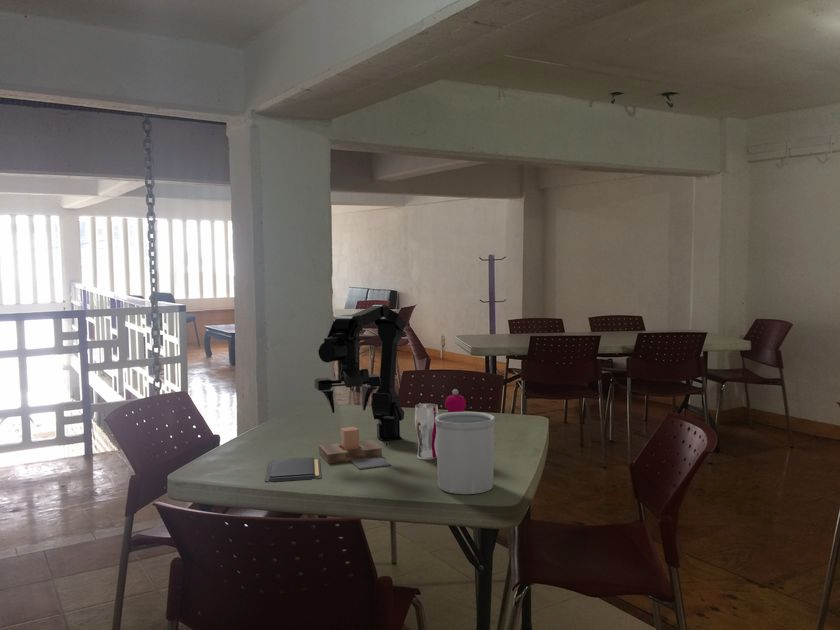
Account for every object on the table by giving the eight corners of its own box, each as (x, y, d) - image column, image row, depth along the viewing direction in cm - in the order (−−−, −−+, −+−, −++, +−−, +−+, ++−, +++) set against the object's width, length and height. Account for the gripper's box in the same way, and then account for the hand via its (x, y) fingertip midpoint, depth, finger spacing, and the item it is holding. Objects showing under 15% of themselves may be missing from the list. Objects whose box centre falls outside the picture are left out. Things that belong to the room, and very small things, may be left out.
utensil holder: (444, 475, 183) (443, 409, 182) (500, 479, 179) (499, 411, 177) (428, 493, 169) (427, 421, 168) (489, 497, 165) (488, 424, 163)
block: (355, 453, 207) (354, 426, 207) (359, 456, 203) (358, 429, 203) (341, 454, 206) (340, 428, 205) (344, 458, 202) (344, 431, 201)
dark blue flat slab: (268, 457, 199) (322, 454, 201) (268, 464, 200) (322, 461, 202) (262, 478, 180) (321, 474, 182) (262, 485, 180) (321, 482, 182)
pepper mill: (451, 463, 194) (450, 392, 193) (439, 457, 201) (437, 388, 199) (473, 459, 197) (472, 389, 196) (460, 453, 204) (459, 386, 202)
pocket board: (371, 448, 212) (370, 439, 212) (381, 457, 202) (381, 448, 202) (319, 454, 207) (319, 445, 207) (327, 463, 196) (327, 454, 196)
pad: (380, 457, 201) (380, 456, 201) (390, 465, 193) (390, 464, 193) (350, 461, 198) (350, 459, 198) (359, 469, 190) (359, 468, 190)
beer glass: (442, 454, 203) (441, 403, 202) (435, 461, 197) (434, 408, 196) (419, 453, 206) (418, 402, 205) (411, 459, 199) (410, 407, 198)
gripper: (321, 363, 192) (323, 419, 193) (386, 359, 198) (387, 414, 199) (313, 359, 202) (314, 412, 203) (375, 355, 209) (376, 407, 210)
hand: (348, 411), depth 204 cm, fingers open, 9 cm apart
